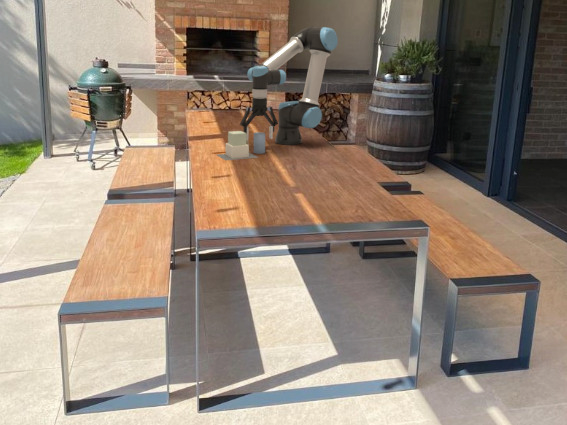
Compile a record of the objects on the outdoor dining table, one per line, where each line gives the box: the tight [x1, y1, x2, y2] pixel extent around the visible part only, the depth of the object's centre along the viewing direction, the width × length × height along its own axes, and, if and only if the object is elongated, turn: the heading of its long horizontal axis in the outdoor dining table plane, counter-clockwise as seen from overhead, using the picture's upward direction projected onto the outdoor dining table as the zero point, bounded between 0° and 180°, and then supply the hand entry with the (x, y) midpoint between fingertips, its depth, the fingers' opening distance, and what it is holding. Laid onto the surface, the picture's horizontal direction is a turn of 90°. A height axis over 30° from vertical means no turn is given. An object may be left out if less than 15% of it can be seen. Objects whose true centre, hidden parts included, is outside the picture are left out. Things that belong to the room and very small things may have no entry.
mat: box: [216, 152, 260, 161], centre depth 326 cm, size 18×14×1 cm
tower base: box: [225, 142, 250, 159], centre depth 325 cm, size 9×9×6 cm
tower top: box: [227, 130, 246, 146], centre depth 323 cm, size 7×7×6 cm
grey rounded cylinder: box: [253, 131, 266, 155], centre depth 333 cm, size 6×6×11 cm
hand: (258, 139), depth 332 cm, fingers open, 13 cm apart
